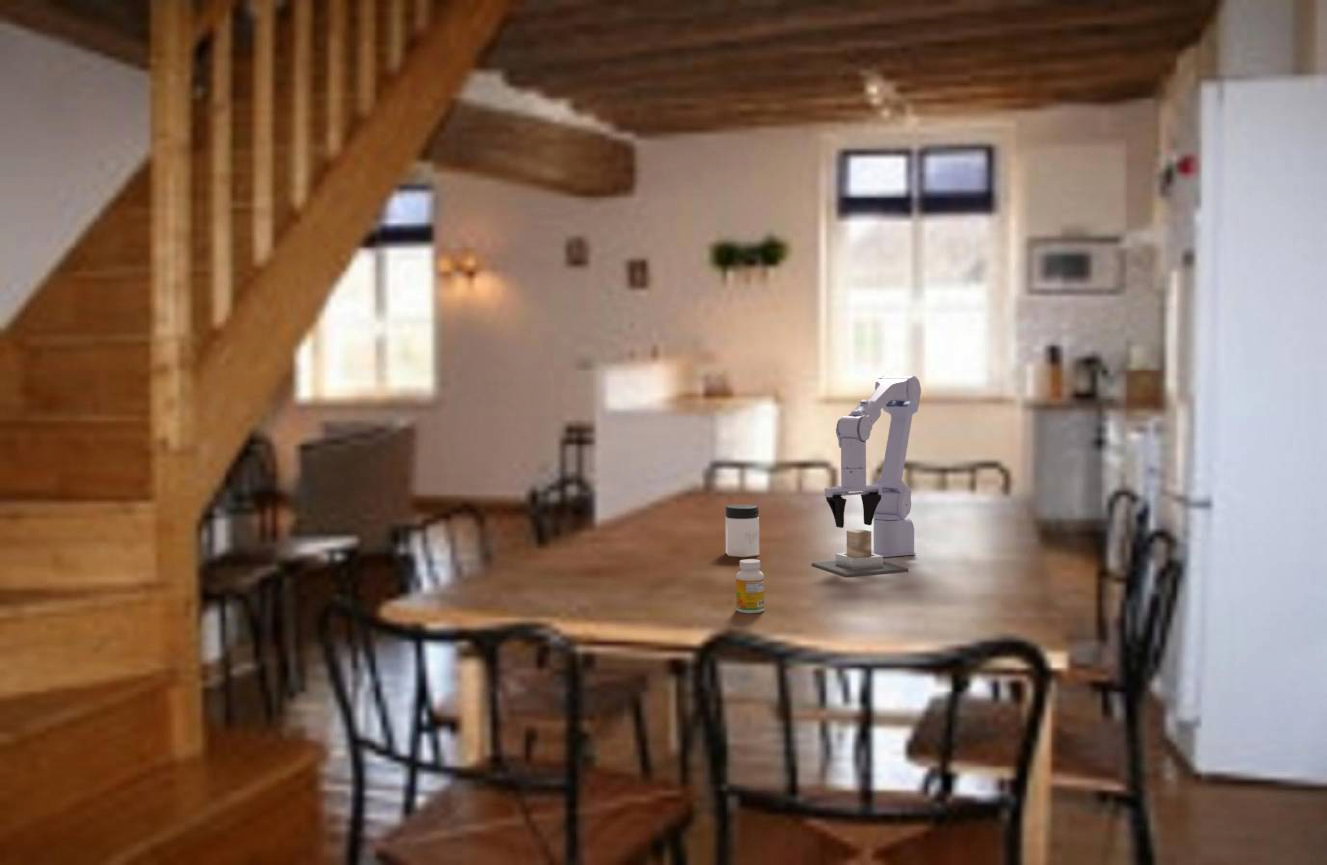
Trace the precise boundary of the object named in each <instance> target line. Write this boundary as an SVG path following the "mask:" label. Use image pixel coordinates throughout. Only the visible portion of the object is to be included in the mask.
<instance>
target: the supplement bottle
mask: <svg viewBox="0 0 1327 865" xmlns="http://www.w3.org/2000/svg"><path fill="white" fill-rule="evenodd" d="M739 569H740V571H738V572H737V573H736V575H735V584H736V586H735V587H736V588H735V592H736V594H735V596H736V597H735V598H736V603H735V604H736V605H735V606H736V608H735V609H736V611H737V612H739V613H743V614H758V613H762V612H764V611H765V575H764V573H763V571H761V570H760V569H761V560H759V559H754V558H749V559H748V558H747V559H741V560H739Z"/></svg>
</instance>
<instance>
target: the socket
mask: <svg viewBox="0 0 1327 865" xmlns="http://www.w3.org/2000/svg"><path fill="white" fill-rule="evenodd" d="M835 561H836V564H837V565H840V566H843V567H846V568H849V569H852V570H856V569H867V568H878V567H883V561H884V557H883V556H881V555H877V554H874V553H871V556H869V557H857V558H854V557H851V556H847V552H839V553H837V552H836V553H835Z"/></svg>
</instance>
